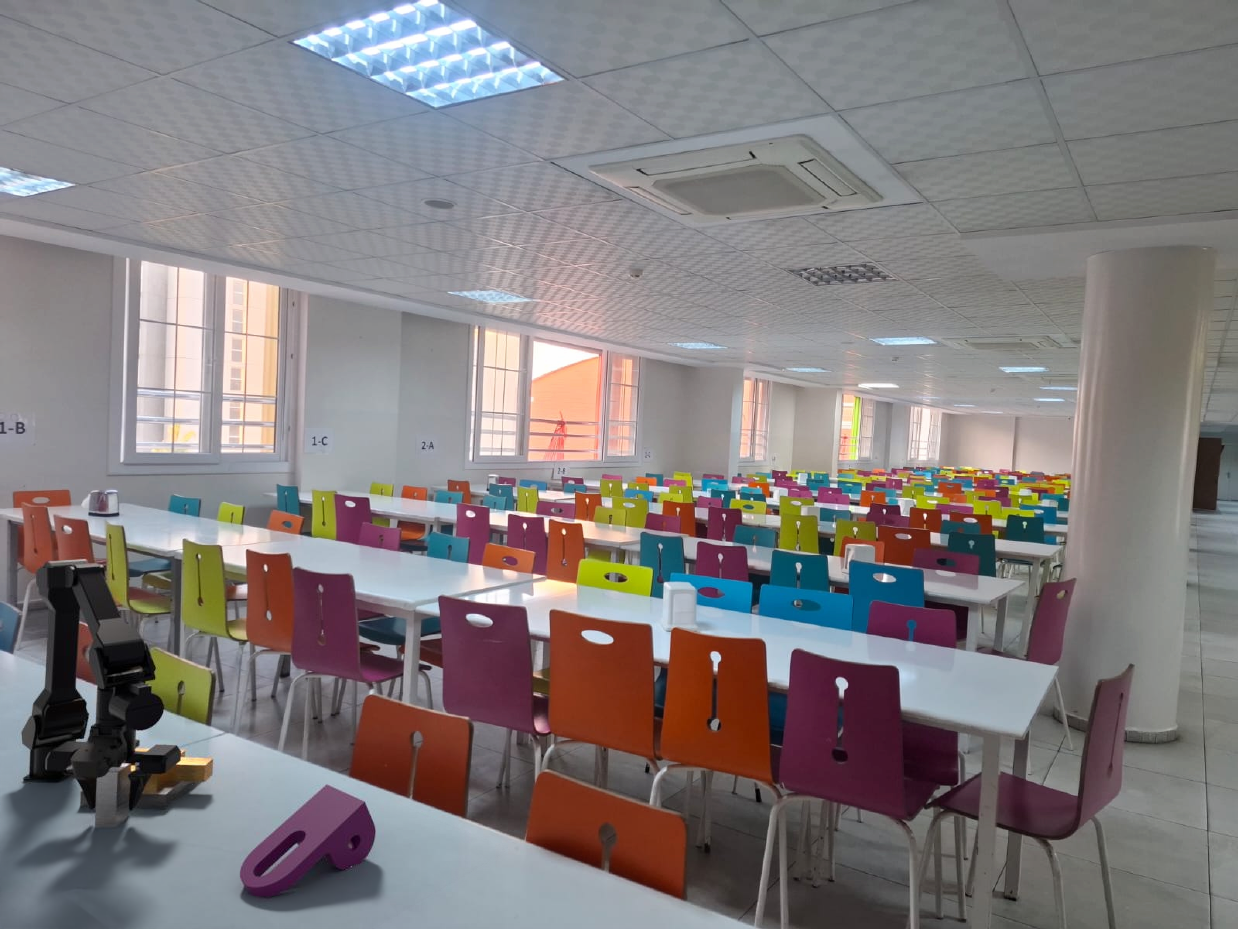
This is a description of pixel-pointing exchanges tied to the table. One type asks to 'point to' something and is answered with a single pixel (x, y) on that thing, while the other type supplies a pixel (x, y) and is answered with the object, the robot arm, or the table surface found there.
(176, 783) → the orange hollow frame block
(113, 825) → the grey rectangular block
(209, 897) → the table surface
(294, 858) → the mounting bracket
